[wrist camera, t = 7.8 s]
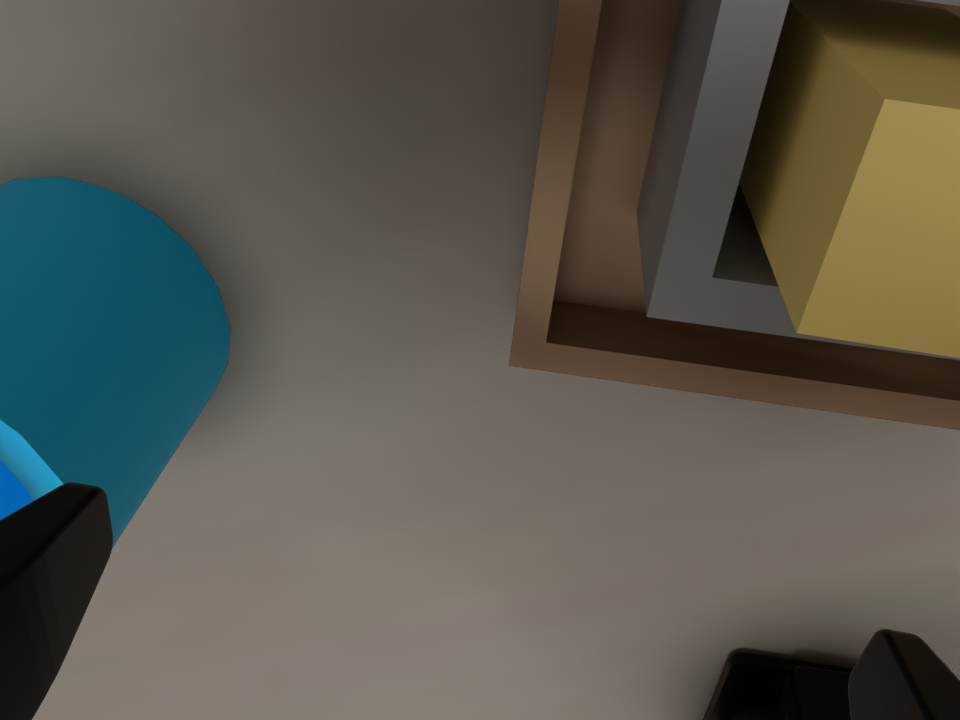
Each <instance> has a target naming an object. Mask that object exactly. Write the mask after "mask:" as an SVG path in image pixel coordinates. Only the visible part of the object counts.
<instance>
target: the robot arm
mask: <svg viewBox="0 0 960 720" xmlns="http://www.w3.org/2000/svg"><path fill="white" fill-rule="evenodd" d="M112 546H113V530H112V524H111V517H110V511H109V504H108V498H107V494H106V492H105V491H104V489H103V488H100V487H98V486H93V485H87V484H82V483H76V482H68V483H65V484H63V485H61V486H59V487H57V488H55V489H53V490H52V491H50V492H48V493H46V494H45V495H43V496H41V497H39V498H38V499H36V500H34V501H32V502H31V503H29V504H27V505H26V506H24V507H22V508H20V509H19V510H17V511H15V512H13V513H12V514H10V515H8V516H6V517H5V518H3V519H1V520H0V720H32V719H33V717H34V715H35V713H36V712H37V710H38V708H39V706H40V705H41V703H42V701H43V700H44V698H45V696H46V694H47V692H48V691H49V689H50V687H51V685H52V683H53V681H54V680H55V678H56V676H57V674H58V672H59V670H60V668H61V665H62V663H63V661H64V659H65V657H66V655H67V653H68V650H69V648H70V646H71V643H72V641H73V639H74V637H75V634H76V632H77V630H78V628H79V625H80V623H81V621H82V619H83V616H84V614H85V612H86V609H87V607H88V605H89V603H90V600H91V598H92V596H93V594H94V591H95V589H96V587H97V584H98V582H99V580H100V578H101V575H102V573H103V571H104V569H105V566H106V564H107V562H108V560H109V557H110V554H111V551H112ZM704 720H960V680H959V679H958V678H957V677H956V676H955V675H954V674H953V672H952V671H951V670H950V669H949V668H948V667H947V666H946V665H945V664H944V663H943V662H942V661H941V659H940V658H939V657H938V656H937V655H936V654H935V653H934V652H933V651H932V650H931V649H930V647H929V646H928V645H927V644H926V643H925V642H924V641H923V640H922V639H921V638H919V637H918V636H916V635H914V634H910V633H905V632H899V631H893V630H888V629H881V630H879V631H878V632H876V633H875V634H874V635H873V637H872V638H871V640H870V642H869V643H868V645H867V647H866V648H865V650H864V651H863V653H862V655H861V656H860V658H859V660H858V661H857V663H856V665H855V666H854V668H853V670H852V669H846V668H839V667H833V666H826V665H820V664H813V663H807V662H801V661H794V660H788V659H781V658H775V657H768V656H762V655H755V654H749V653H738V654H735V655H733V656H731V657H730V658H729V660H728V662H727V664H726V666H725V669H724V671H723V674H722V676H721V679H720V681H719V684H718V686H717V689H716V691H715V694H714V696H713V698H712V701H711V703H710V706H709V708H708V711H707V713H706V716H705V718H704Z"/></svg>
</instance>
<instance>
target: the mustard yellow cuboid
mask: <svg viewBox="0 0 960 720" xmlns="http://www.w3.org/2000/svg"><path fill="white" fill-rule="evenodd" d="M739 183H740V186H741V188H742V191H743V193H744V196H745V199H746V201H747V204H748V207H749V209H750V212H751V215H752V217H753V220H754V223H755V225H756V228H757V230H758V233H759V236H760V238H761V241H762V244H763V246H764V249H765V252H766V254H767V257H768V260H769V262H770V265H771V267H772V270H773V273H774V275H775V278H776V281H777V283H778V286H779V289H780V291H781V294H782V297H783V299H784V302H785V304H786V307H787V310H788V312H789V315H790V318H791V320H792V323H793V326H794V328H795V331H796V333H799V334H805V335H812V336H818V337H825V338H831V339H838V340H844V341H851V342H857V343H864V344H870V345H877V346H883V347H890V348H896V349H903V350H909V351H916V352H922V353H929V354H935V355H942V356H949V357H955V358H960V17H958V16H957V15H955V14H953V13H952V12H950V11H948V10H946V9H940V8H932V7H925V6H918V5H911V4H904V3H897V2H890V1H882V0H790V1H789V4H788V8H787V12H786V15H785V19H784V22H783V26H782V29H781V33H780V37H779V40H778V44H777V47H776V51H775V55H774V58H773V62H772V65H771V69H770V72H769V76H768V80H767V83H766V87H765V90H764V94H763V97H762V101H761V105H760V108H759V112H758V115H757V119H756V123H755V126H754V130H753V133H752V137H751V140H750V144H749V148H748V151H747V155H746V158H745V162H744V166H743V169H742V173H741V176H740V180H739Z"/></svg>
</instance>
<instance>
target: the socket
mask: <svg viewBox="0 0 960 720" xmlns="http://www.w3.org/2000/svg"><path fill="white" fill-rule="evenodd" d="M789 1H790V0H681V4H680V8H679V13H678V18H677V22H676V27H675V32H674V36H673V41H672V46H671V51H670V55H669V60H668V65H667V69H666V74H665V79H664V84H663V88H662V93H661V98H660V102H659V107H658V112H657V116H656V121H655V126H654V131H653V135H652V140H651V145H650V149H649V154H648V159H647V164H646V168H645V173H644V178H643V182H642V187H641V192H640V196H639V201H638V206H637V211H636V214H637V224H638V234H639V245H640V255H641V265H642V275H643V285H644V295H645V305H646V315H647V317H651V318H658V319H666V320H673V321H680V322H687V323H694V324H702V325H709V326H716V327H723V328H730V329H737V330H745V331H752V332H759V333H766V334H773V335H781V336H788V337H795V338H802V339H809V340H817V341H824V342H831V343H838V344H845V345H852V346H860V347H867V348H874V349H881V350H888V351H896V352H903V353H910V354H917V355H924V356H931V357H939V358H946V359H953V360H960V358H955V357H949V356H942V355H935V354H929V353H922V352H916V351H909V350H903V349H896V348H890V347H883V346H877V345H870V344H864V343H857V342H851V341H844V340H838V339H831V338H825V337H818V336H812V335H805V334H799V333H796V331H795V328H794V326H793V323H792V320H791V318H790V315H789V312H788V310H787V307H786V304H785V302H784V299H783V297H782V294H781V291H780V289H779V286H778V283H777V281H776V278H775V275H774V273H773V270H772V267H771V265H770V262H769V260H768V257H767V254H766V252H765V249H764V246H763V244H762V241H761V238H760V236H759V233H758V230H757V228H756V225H755V223H754V220H753V217H752V215H751V212H750V209H749V207H748V204H747V201H746V199H745V196H744V193H743V191H742V188H741V186H740V185H739V184H738V183H739V180H740V176H741V173H742V169H743V166H744V162H745V158H746V155H747V151H748V148H749V144H750V140H751V137H752V133H753V130H754V126H755V123H756V119H757V115H758V112H759V108H760V105H761V101H762V97H763V94H764V90H765V87H766V83H767V80H768V76H769V72H770V69H771V65H772V62H773V58H774V55H775V51H776V47H777V44H778V40H779V37H780V33H781V29H782V26H783V22H784V19H785V15H786V12H787V8H788V4H789ZM916 1H924V2H932V3H940V4H949V5H957V6H960V0H916Z"/></svg>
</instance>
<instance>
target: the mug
mask: <svg viewBox="0 0 960 720" xmlns="http://www.w3.org/2000/svg"><path fill="white" fill-rule="evenodd" d="M229 330H230V326H229V323H228V320H227V316H226V313H225V310H224V307H223V303H222V300H221V297H220V293H219V290H218V287H217V285H216V284H215V282H214V281H213V279H212V278H211V276H210V275H209V273H208V272H207V270H206V269H205V267H204V266H203V264H202V263H201V261H200V260H199V258H198V257H197V255H196V254H195V252H194V251H193V249H192V248H191V247H190V246H189V245H188V244H187V243H186V242H185V241H184V240H183V239H181V238H180V237H179V236H178V235H177V234H176V233H175V232H174V231H173V230H172V229H170V228H169V227H168V226H167V225H166V224H165V223H164V222H163V221H162V220H161V219H159V218H158V217H157V216H156V215H155V214H154V213H152V212H150V211H149V210H147V209H145V208H143V207H141V206H139V205H138V204H136V203H134V202H132V201H130V200H128V199H126V198H125V197H123V196H121V195H119V194H117V193H115V192H113V191H112V190H110V189H108V188H104V187H100V186H96V185H92V184H88V183H84V182H80V181H75V180H71V179H67V178H63V177H45V178H29V179H15V180H13V181H11V182H8V183H6V184H4V185H2V186H0V520H1V519H3V518H5V517H6V516H8V515H10V514H12V513H13V512H15V511H17V510H19V509H20V508H22V507H24V506H26V505H27V504H29V503H31V502H32V501H34V500H36V499H38V498H39V497H41V496H43V495H45V494H46V493H48V492H50V491H52V490H53V489H55V488H57V487H59V486H61V485H63V484H65V483H68V482H76V483H82V484H87V485H93V486H98V487H100V488H103V489H104V491H105V492H106V494H107V498H108V504H109V511H110V517H111V524H112V530H113V546H114V545H115V543H116V542H117V540H118V539H119V537H120V536H121V534H122V533H123V531H124V529H125V528H126V526H127V525H128V523H129V522H130V520H131V519H132V517H133V516H134V514H135V512H136V511H137V509H138V508H139V506H140V505H141V503H142V502H143V500H144V499H145V497H146V496H147V494H148V492H149V491H150V489H151V488H152V486H153V485H154V483H155V482H156V480H157V479H158V477H159V475H160V474H161V472H162V471H163V469H164V468H165V466H166V465H167V463H168V462H169V460H170V459H171V457H172V455H173V454H174V452H175V451H176V449H177V448H178V446H179V445H180V443H181V442H182V440H183V438H184V437H185V435H186V434H187V432H188V431H189V429H190V428H191V426H192V425H193V423H194V421H195V420H196V418H197V417H198V415H199V414H200V412H201V411H202V409H203V408H204V406H205V405H206V403H207V401H208V400H209V398H210V397H211V395H212V394H213V392H214V390H215V388H216V386H217V384H218V382H219V380H220V378H221V376H222V374H223V372H224V370H225V368H226V366H227V364H228V350H229ZM113 546H112V548H113Z"/></svg>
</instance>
